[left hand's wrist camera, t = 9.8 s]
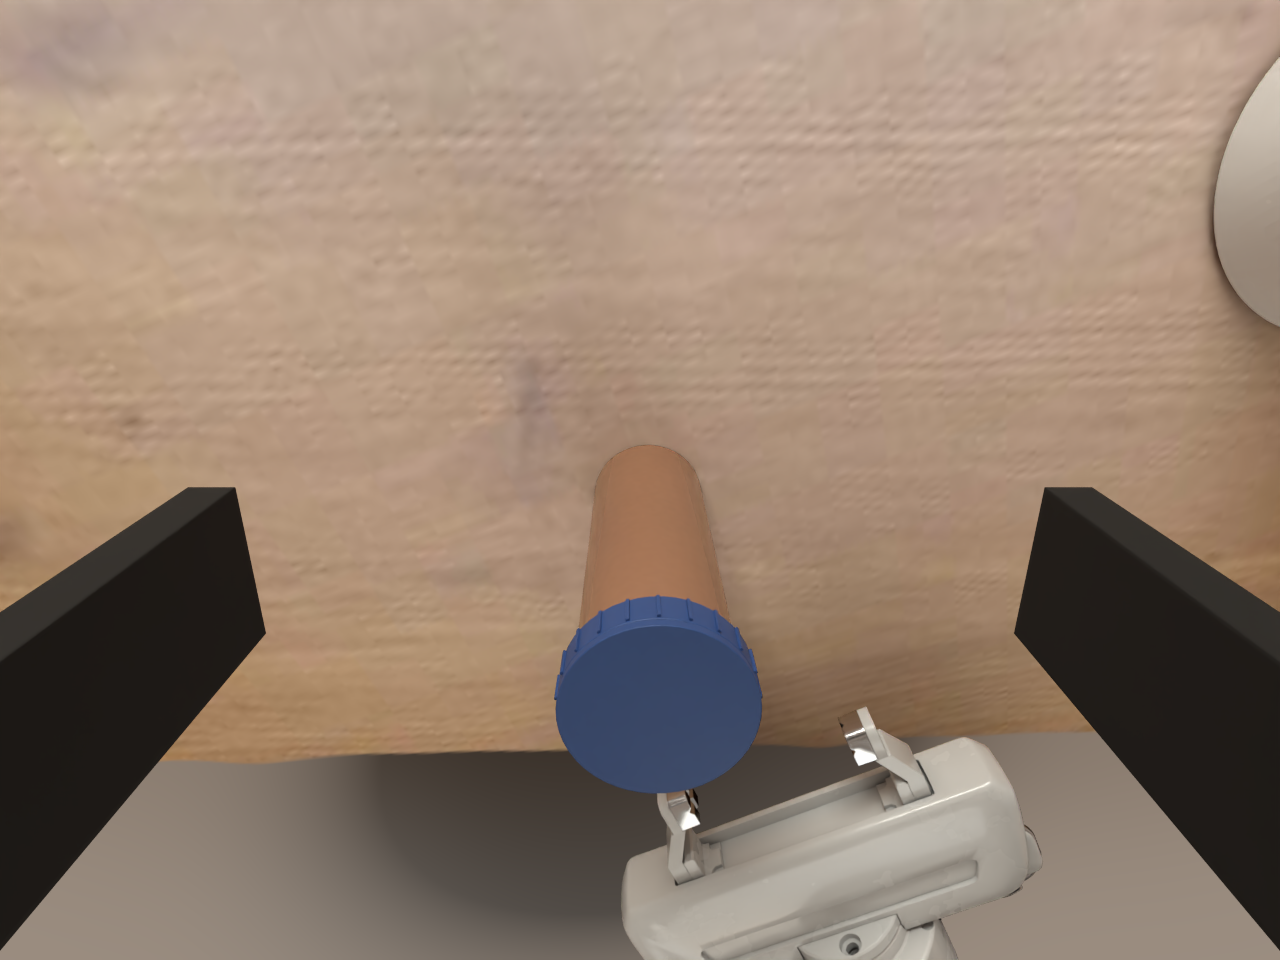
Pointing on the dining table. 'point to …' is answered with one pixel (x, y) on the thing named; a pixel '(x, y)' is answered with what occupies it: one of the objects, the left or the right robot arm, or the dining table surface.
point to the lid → (658, 695)
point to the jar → (649, 535)
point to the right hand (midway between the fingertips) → (760, 755)
